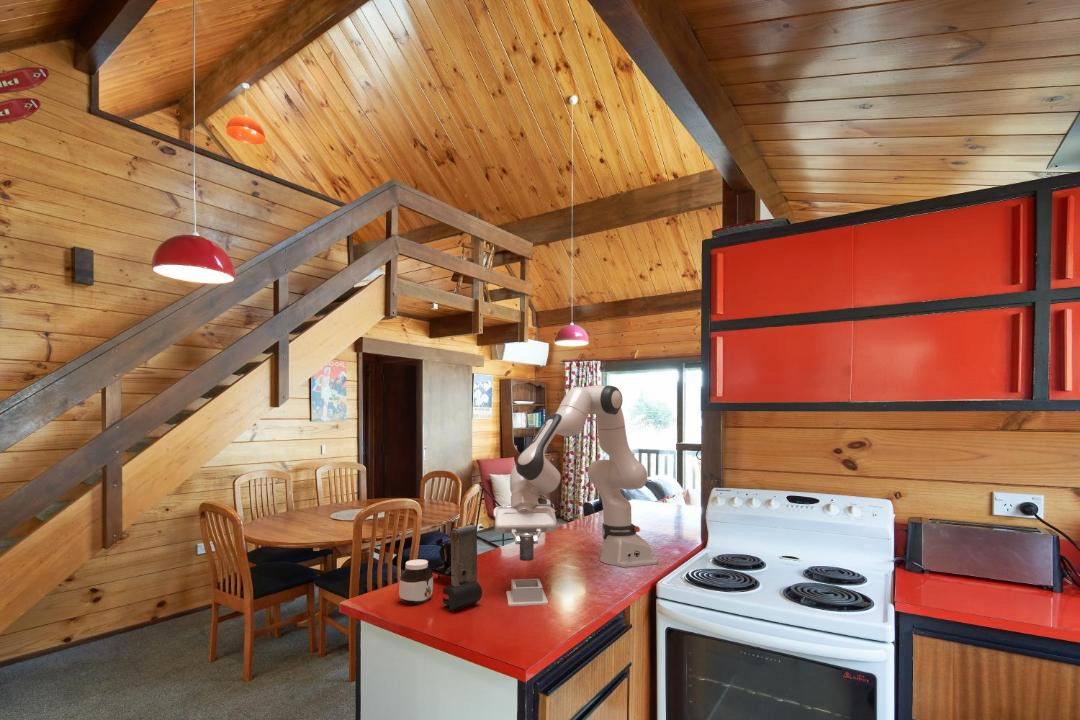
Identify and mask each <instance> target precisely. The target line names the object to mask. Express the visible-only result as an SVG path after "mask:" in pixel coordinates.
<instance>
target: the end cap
mask: <svg viewBox="0 0 1080 720" xmlns="http://www.w3.org/2000/svg"><path fill="white" fill-rule="evenodd" d="M459 585H460V586H453V585H452V584H449V585H445V586H444V587H443V588H442V594H443V595H445V596H448V598H445V597H442V604H444V605H443V606H442V607H443V608H442V609H443V610H446V611H448V612H455V611H459V610H462V609H465V608H468V607H470V606H474V605H476V604H477V603H478V602H479V601H481V600H482V596H483V590H482V586H481V584H480V583H479V582H478V581H473V582H467V581H463V582H459Z"/></svg>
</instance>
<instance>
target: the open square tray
mask: <svg viewBox="0 0 1080 720" xmlns="http://www.w3.org/2000/svg"><path fill="white" fill-rule="evenodd" d="M510 583H511V584H510V587H511V588H510V590H506V592H505V593H506V599H507V605H508V607H519V606H520V607H524V606H525V607H526V606H527V607H528V606H547V605H549V601H548V598H547V596H546V593H545V591H544V589H543V585H542V583H541V580H540V578H521V579H516V578H515V579H511V581H510Z"/></svg>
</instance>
